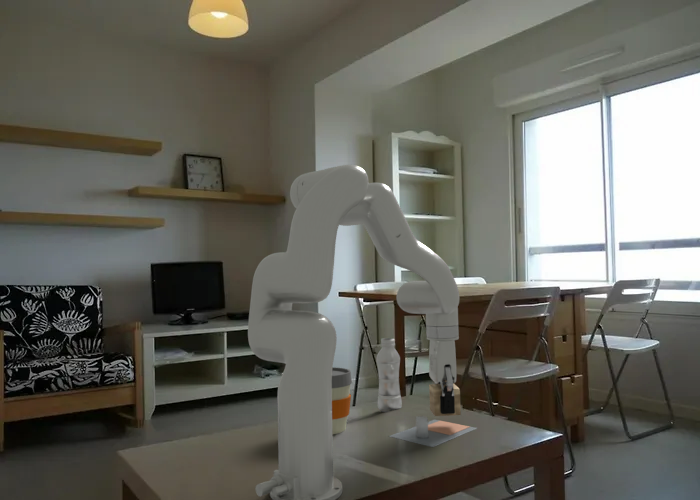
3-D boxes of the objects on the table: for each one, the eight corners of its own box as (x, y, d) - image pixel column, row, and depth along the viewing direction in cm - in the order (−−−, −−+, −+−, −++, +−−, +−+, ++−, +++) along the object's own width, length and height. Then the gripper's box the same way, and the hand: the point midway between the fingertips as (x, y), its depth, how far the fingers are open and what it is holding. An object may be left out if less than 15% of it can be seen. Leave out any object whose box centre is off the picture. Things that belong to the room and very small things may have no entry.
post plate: (433, 454, 114) (432, 426, 114) (388, 442, 122) (388, 417, 122) (477, 434, 127) (477, 409, 127) (435, 425, 135) (434, 402, 135)
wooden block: (434, 416, 125) (434, 389, 125) (429, 409, 131) (429, 384, 131) (460, 415, 125) (459, 388, 125) (454, 408, 131) (453, 383, 131)
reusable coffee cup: (361, 439, 125) (359, 373, 126) (309, 446, 121) (307, 378, 121) (341, 425, 137) (340, 365, 138) (293, 431, 132) (292, 369, 133)
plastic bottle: (400, 415, 145) (398, 340, 146) (375, 414, 147) (374, 340, 147) (403, 409, 152) (401, 337, 152) (379, 409, 153) (377, 337, 154)
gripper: (421, 329, 137) (423, 401, 137) (433, 337, 120) (435, 420, 119) (450, 328, 138) (452, 400, 137) (466, 336, 120) (469, 419, 120)
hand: (444, 408), depth 128 cm, fingers closed on wooden block, 6 cm apart
